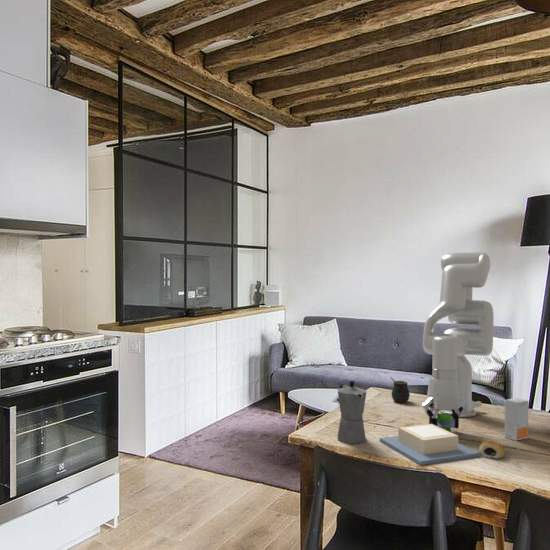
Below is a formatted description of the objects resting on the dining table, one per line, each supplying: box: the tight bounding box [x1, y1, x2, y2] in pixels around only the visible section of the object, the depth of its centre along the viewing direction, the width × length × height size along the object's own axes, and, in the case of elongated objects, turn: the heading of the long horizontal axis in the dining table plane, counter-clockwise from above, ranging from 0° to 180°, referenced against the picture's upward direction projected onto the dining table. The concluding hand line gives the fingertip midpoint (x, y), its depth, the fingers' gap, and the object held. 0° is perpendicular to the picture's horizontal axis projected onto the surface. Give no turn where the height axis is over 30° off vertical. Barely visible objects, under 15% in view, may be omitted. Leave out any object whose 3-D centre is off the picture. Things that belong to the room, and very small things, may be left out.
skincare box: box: [504, 397, 529, 442], centre depth 152 cm, size 6×4×12 cm
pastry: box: [477, 440, 506, 460], centre depth 139 cm, size 9×7×4 cm
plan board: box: [379, 423, 481, 466], centre depth 142 cm, size 20×20×5 cm
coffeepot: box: [337, 380, 367, 444], centre depth 151 cm, size 15×9×18 cm, turn 16°
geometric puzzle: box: [436, 411, 456, 433], centre depth 157 cm, size 7×7×8 cm
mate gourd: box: [390, 377, 410, 404], centre depth 196 cm, size 7×8×10 cm
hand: (443, 428), depth 157 cm, fingers closed on geometric puzzle, 7 cm apart
